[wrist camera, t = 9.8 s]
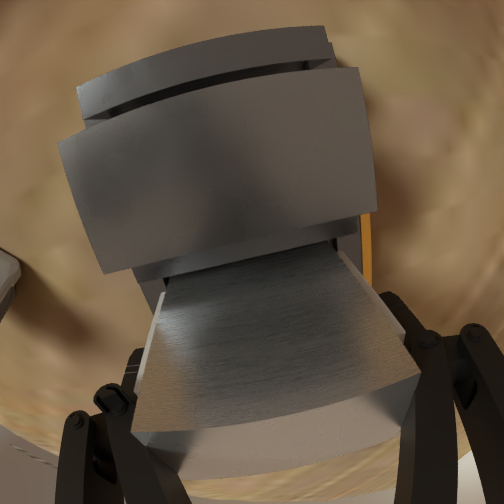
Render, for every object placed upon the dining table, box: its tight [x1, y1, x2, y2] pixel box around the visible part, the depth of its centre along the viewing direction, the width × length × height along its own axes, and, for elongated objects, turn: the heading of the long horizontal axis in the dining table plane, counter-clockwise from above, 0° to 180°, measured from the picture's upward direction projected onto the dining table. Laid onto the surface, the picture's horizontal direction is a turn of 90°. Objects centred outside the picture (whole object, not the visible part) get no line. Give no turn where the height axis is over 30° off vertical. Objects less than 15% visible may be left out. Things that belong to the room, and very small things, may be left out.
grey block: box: [131, 240, 421, 480], centre depth 11 cm, size 4×8×9 cm, turn 102°
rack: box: [57, 26, 378, 315], centre depth 14 cm, size 24×14×9 cm, turn 12°
